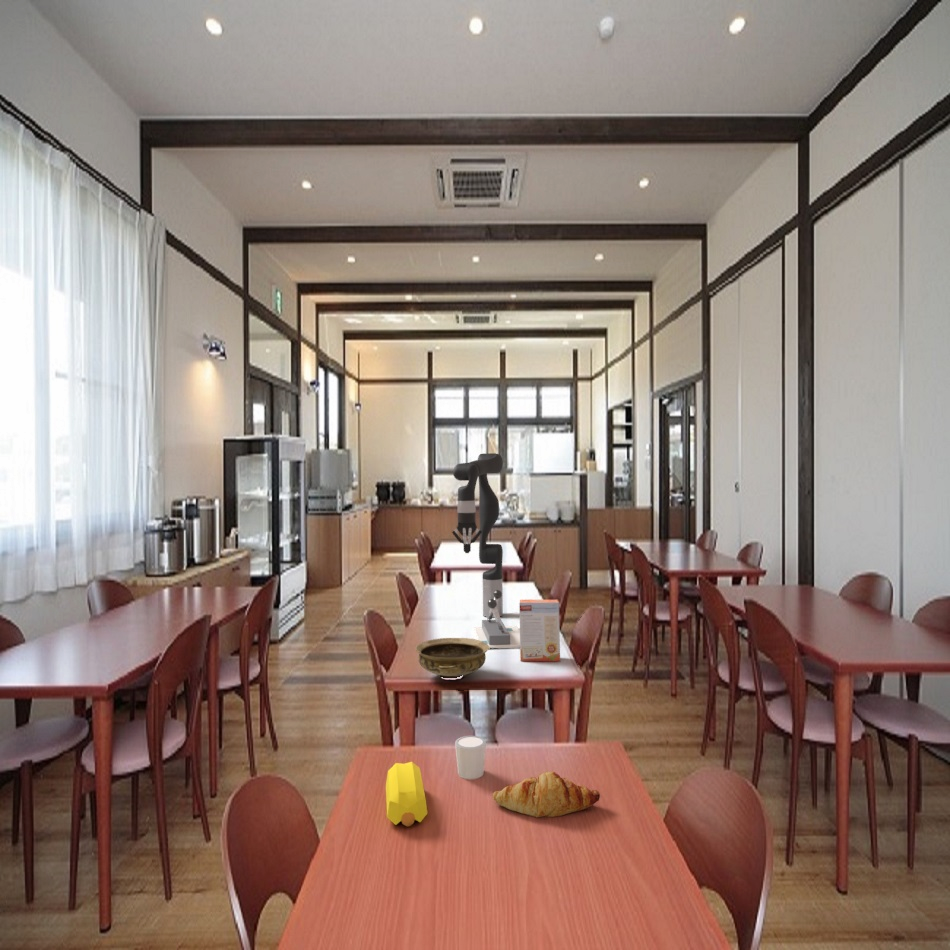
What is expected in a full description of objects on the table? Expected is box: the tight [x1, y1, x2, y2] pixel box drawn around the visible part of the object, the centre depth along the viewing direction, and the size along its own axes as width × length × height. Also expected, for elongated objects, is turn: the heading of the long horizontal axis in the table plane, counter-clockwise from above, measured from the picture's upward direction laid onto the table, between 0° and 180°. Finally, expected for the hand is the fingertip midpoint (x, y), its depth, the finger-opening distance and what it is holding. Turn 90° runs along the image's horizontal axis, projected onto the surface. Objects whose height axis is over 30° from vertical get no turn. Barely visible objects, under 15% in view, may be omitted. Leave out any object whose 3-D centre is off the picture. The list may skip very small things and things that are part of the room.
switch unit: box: [474, 619, 520, 650], centre depth 251 cm, size 30×18×4 cm, turn 6°
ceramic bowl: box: [414, 637, 490, 678], centre depth 204 cm, size 30×24×10 cm
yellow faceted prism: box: [385, 761, 429, 827], centre depth 125 cm, size 18×7×8 cm
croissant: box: [492, 770, 601, 818], centre depth 124 cm, size 21×10×8 cm, turn 88°
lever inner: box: [486, 590, 502, 622], centre depth 260 cm, size 4×4×13 cm
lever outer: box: [488, 599, 505, 633], centre depth 242 cm, size 4×4×13 cm
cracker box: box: [519, 599, 561, 662], centre depth 222 cm, size 14×6×21 cm, turn 84°
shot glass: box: [454, 735, 487, 780], centre depth 139 cm, size 7×7×7 cm
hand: (467, 552), depth 262 cm, fingers closed
